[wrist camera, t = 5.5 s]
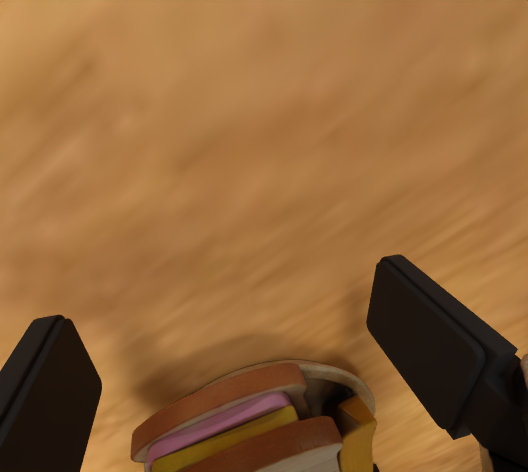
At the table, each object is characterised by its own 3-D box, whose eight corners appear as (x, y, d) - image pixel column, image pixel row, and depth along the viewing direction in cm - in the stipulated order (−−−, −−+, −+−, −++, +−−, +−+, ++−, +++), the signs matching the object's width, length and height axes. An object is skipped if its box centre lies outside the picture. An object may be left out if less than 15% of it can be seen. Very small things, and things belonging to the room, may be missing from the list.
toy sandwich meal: (182, 505, 19) (180, 622, 15) (98, 376, 12) (53, 526, 8) (359, 445, 21) (401, 536, 16) (372, 304, 14) (449, 398, 10)
